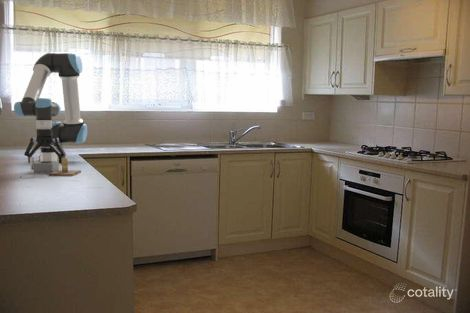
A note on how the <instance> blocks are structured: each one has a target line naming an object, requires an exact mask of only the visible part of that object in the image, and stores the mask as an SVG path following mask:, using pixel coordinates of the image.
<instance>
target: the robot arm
mask: <svg viewBox="0 0 470 313" xmlns="http://www.w3.org/2000/svg"><path fill="white" fill-rule="evenodd" d="M32 70H33V72H32V74H31V77H30V80H29V82H28V84H27V87H26V90H25V91H24V95H23V96H22V100H21V101H17V102H14V105H13V111H14V114H15V115H16V116H18V117H35V118H36V119H35V120H36V121H35V122H36V125H35V126H36V137H31V138H30V139H29V144H28V146H27V147H26V150H25V152H24V153H23V155H24V156H26V157H27V161H28V164H29V170H30V171H32V170H33V171H34V167H33V163H35V160H34V156H33V155H34V154H35V153H36V152H37V151H38V150H39V149H40V148H41V147H50V148H51V149H52V150H53V151H54V152H55V153H56V154H57V156H58V157H57V170H62V158H67V157H66V156H67V154H66V151H65V149H64V148H63V144H83V143H84V142H86V140H87V137H88V125H87V124H86V123H84V119H82V117H81V109H80V108H81V107H80V97H79V94H80V93H79V87H78V86H79V85H78V79H79V78H80V74H82V72H83V62H82V59H81V56H80V54H79V53H77V52H71V51H65V52H64V51H63V52H62V51H61V52H60V51H59V52H58V51H57V52H56V51H55V52H54V51H51V52H47V53H44V54H43V55H42V56H40V57H39V58H38V59H37V60H36V62H35V63H34V65H33V68H32ZM53 73H55V74H58V77H59V78H60V79H61V85H62V95H63V106H64V116H65V119H64V120H63V121H55V122H53V117H57V116H58V115H59V114H60V113H61V110H62V109H61V105H60V104H59V103H57V102H54V101H52V98H49V97H47V98H46V97H41V94H42V92H43V89H44V86H45V84H46V81H47V79H48V78H49V77H50V76H51V74H53ZM35 143H36V145H35V146H34V144H35ZM33 146H34V147H33ZM56 147H57V149H56ZM32 148H33V149H32ZM39 161H40V155H39V156H38V162H39Z"/></svg>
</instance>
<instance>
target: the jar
mask: <svg viewBox="0 0 470 313" xmlns="http://www.w3.org/2000/svg"><path fill="white" fill-rule="evenodd" d="M56 149H57V147H56ZM39 156H40V161H57V157H58V156H57V154H56V153H55V152H54V151H53V150H52V149H51V148H50V147H41V146H40V152H39Z"/></svg>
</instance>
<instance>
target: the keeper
mask: <svg viewBox="0 0 470 313" xmlns="http://www.w3.org/2000/svg"><path fill="white" fill-rule="evenodd" d="M68 160H69V158H68V157H66V158H62V163H61V170H57V171H54V172H51V173H47V174H48V177H51V176H52V177H53V176H55V177H74V176H76V175H78V174H81V172H82V170H81V169H80V170H79V169H77V170H73V169H72V170H71V169H70V170H69V164H68V163H69V162H68Z"/></svg>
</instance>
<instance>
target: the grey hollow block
mask: <svg viewBox="0 0 470 313" xmlns="http://www.w3.org/2000/svg"><path fill="white" fill-rule="evenodd" d="M33 167H34V169H33V174H49V173H51V172H54V171H57V161H39V160H38V161H36V162H34V163H33Z"/></svg>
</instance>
